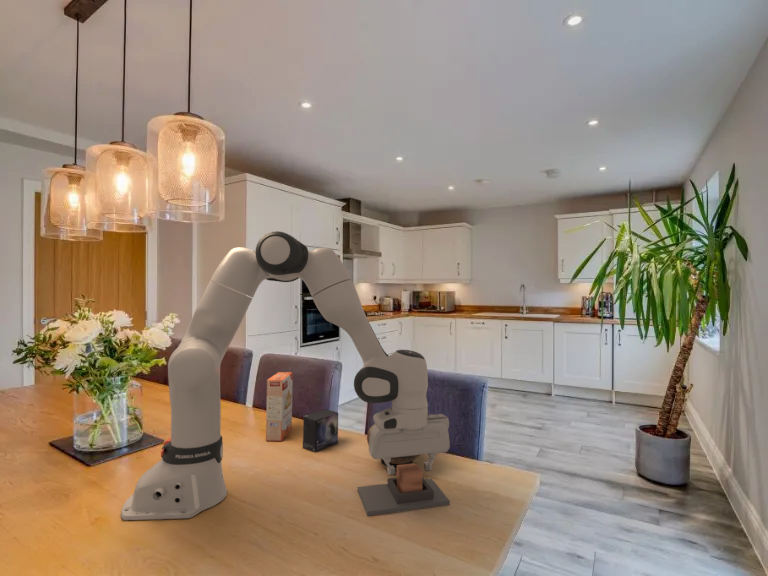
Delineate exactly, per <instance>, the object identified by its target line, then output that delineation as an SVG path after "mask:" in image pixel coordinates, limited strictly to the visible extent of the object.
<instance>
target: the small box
mask: <svg viewBox="0 0 768 576" xmlns="http://www.w3.org/2000/svg"><path fill="white" fill-rule="evenodd" d="M302 419H303V423H302V424H303V426H302V430H303V431H302V434H303V435H302V449H305V450H308V451H310V452H312V453H313V452H314V453H317V452H320V451H321V450H324V449H327V448H329V447H331V446H334V445H336V444H338V443H339V412H338V411H333V410H331V409H325V408H324V409H322V410H318V411H316V412H313V413H309V414H305V415H303V417H302Z"/></svg>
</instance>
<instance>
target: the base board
mask: <svg viewBox="0 0 768 576" xmlns="http://www.w3.org/2000/svg"><path fill="white" fill-rule="evenodd" d="M357 493H358V496H359V499H360V501H361V503H362V504H361V505H362V506H363V509H364V512H365V514H366V517H372V516H377V515H385V514H393V513H400V512H408V511H414V510H422V509H429V508H437V507H445V506H450V503H451V501H450V499H449V498H448V497H447V496H446V494H445V493H444V492H443V490H441V488H440V487H439V486H438V484H437V483H436V482H435V481H434V480H433V478H424V476H422V490H420V491H412V492H404V493H400V492H399V490H398V488H397V476H396V477H390V478H389V477H388V478H387V483H381V484H373V485H365V486H364V485H363V486H357Z"/></svg>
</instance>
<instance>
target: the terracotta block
mask: <svg viewBox="0 0 768 576" xmlns="http://www.w3.org/2000/svg"><path fill="white" fill-rule="evenodd" d="M396 477H397V488H398V490H399V492H400V493H404V492H412V491H420V490H422V477H423V470H422V469H421V468H420V466H419V465H418V464H417V463H416V462H415V463H413V464H404V465H397V469H396Z"/></svg>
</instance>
